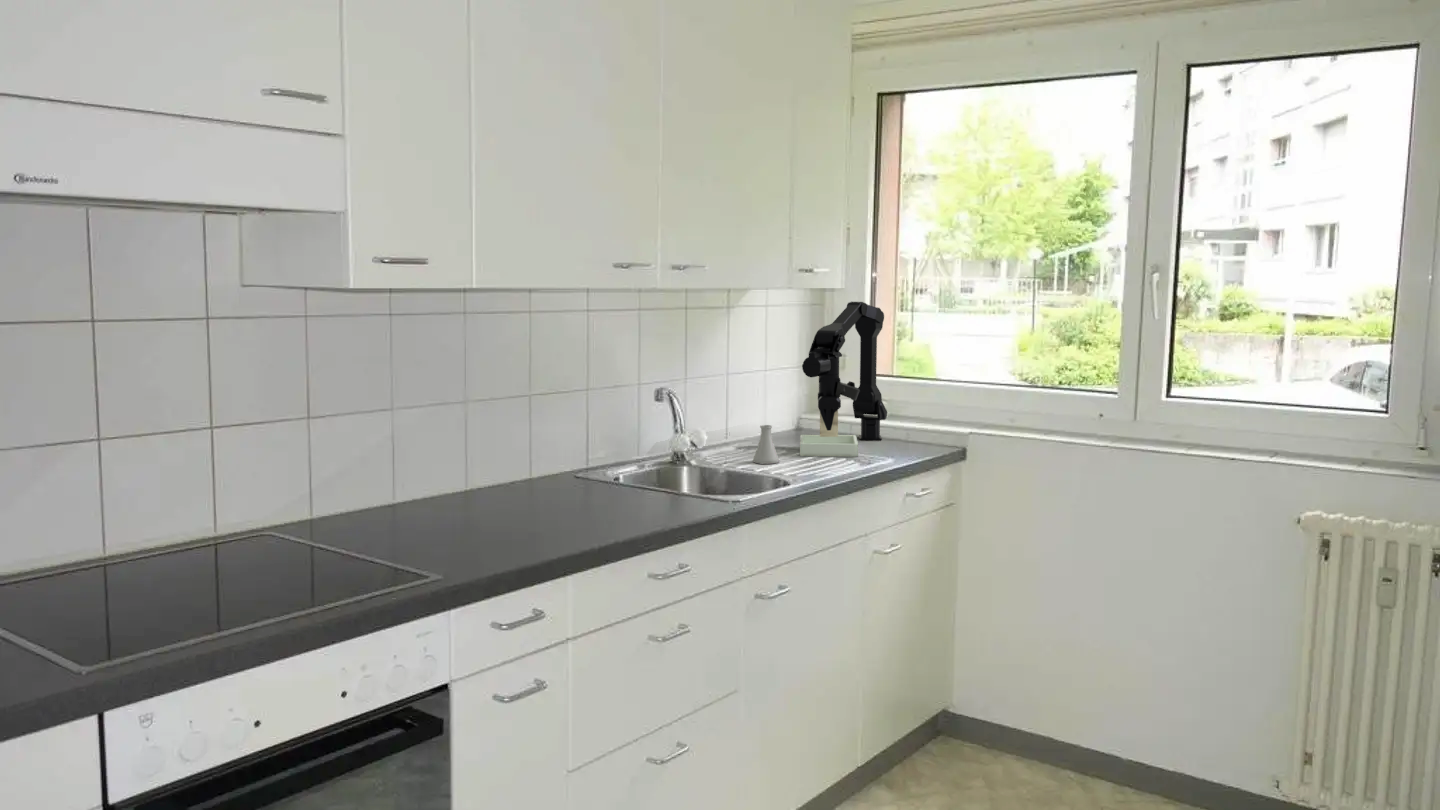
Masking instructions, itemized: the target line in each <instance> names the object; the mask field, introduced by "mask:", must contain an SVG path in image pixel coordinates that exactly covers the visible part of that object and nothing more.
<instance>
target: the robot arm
mask: <svg viewBox="0 0 1440 810" xmlns="http://www.w3.org/2000/svg"><path fill="white" fill-rule="evenodd" d="M884 320H885V313H884V311H882V309H881V308H880V307H877V306H873V305H870V304H867V303H866V302H864V301H849V302H847V305H846V307H845V309H843V310H842V312H841V313H839V315H838V316H837V317H836V318H835V320H833V322H831V323H830V324H827V325H824V326H822V327H821V328H819V329H818V330H817V331H816V333H815V334H814V338H813V340H812V342H811V346H810V348H809V352H808V357H806V358H805V359H804V360H803V362H802V366H801V369H802V371H803V373H804V375H805V376H806V377H809V378H815V377H818V392H817V408H818V410H819V414H820V413H821V416H822V418H823V421H824V424H825V426H826V429H827V430H831V427H832V423H833V418H834V413H835V412H836V411H837V410H838V411H839V409H840V408H841V407H842V406H841V405H842V402H841V401H842V400H841V396H843V397H846V398H848V399H850V400H851V401H853V402H852V409H853V415H854V419H860V434H858V435H859V436H858V437H859V440H860V441H881V440H882V438H883V437H882V435H881V421H882V420H883V421H885V420H886V419H887V416H888V410H887V408H886V407H885V405H884V402H883V397H882V393H881V390H880V389H879V387H878V386H877V355H878V353H877V352H878V350H877V349H878V347H877V346H878V345H877V343H878V336H879V335H880V332H881V331H882V330H883V325H884ZM853 326H854V328H855V330H856V332H857V334H858V335H859V336H860V344H859V345H860V351H859V354H860V355H859V359H860V360H859V385H858V387H856V385H855V384H856V383H855V382H853V381H850V380H849V381H848V382H847V383H845V382H841V377H840V358H842V357H843V354H842V352H840V350H841V349H842V347H843V346H844V344H845V342H846V338H845V337H846V335H847V333H848V332H849V331H850V330H851V329H852V327H853Z"/></svg>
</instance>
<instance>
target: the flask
mask: <svg viewBox="0 0 1440 810" xmlns="http://www.w3.org/2000/svg"><path fill="white" fill-rule="evenodd" d="M759 428H760V432H761V433H760V440H759V442H758V444H757V445H758V446H757V447H756V448H757V449H756V450H755V454H754V456H753V458H752V462H754V463H756V464H760V465H770V464H771V465H772V464H773V465H774V464H778V463H780V462H781V461H780V458H779V456H778V453H777V450H776V447H775V444H774V440H773V436H772V429H773V425H772V424H761V425H760V426H759Z"/></svg>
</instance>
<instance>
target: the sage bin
mask: <svg viewBox="0 0 1440 810" xmlns="http://www.w3.org/2000/svg"><path fill="white" fill-rule="evenodd" d="M799 438H800V439H799V441H800V442H799V457H805V458H806V457H814V458H815V457H816V458H817V457H821V458H822V457H824V458H825V457H826V458H827V457H829V458H830V457H831V458H833V457H834V458H835V457H837V458H838V457H839V458H842V457H844V458H845V457H846V458H854V457H855V458H859V442H858V438H857V435H856V434H838V437H820V434H800V437H799Z"/></svg>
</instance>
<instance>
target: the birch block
mask: <svg viewBox="0 0 1440 810" xmlns="http://www.w3.org/2000/svg"><path fill="white" fill-rule="evenodd" d="M819 435H820V437H838V435H839V409H838V410H837V411H836V412H835V413H834V418H833V423H832V427H831V430H827V429H826V426H825V424H824V421H823V418H822V416H821V413H820V412H819Z"/></svg>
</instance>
